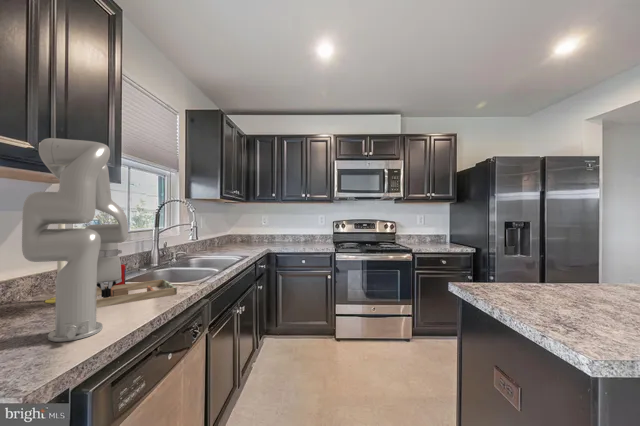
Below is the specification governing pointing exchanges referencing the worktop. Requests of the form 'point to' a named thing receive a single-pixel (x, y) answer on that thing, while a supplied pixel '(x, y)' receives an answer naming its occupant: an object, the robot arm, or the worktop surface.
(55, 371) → the worktop surface
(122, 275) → the beverage can
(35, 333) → the worktop surface
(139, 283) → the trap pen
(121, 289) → the block
